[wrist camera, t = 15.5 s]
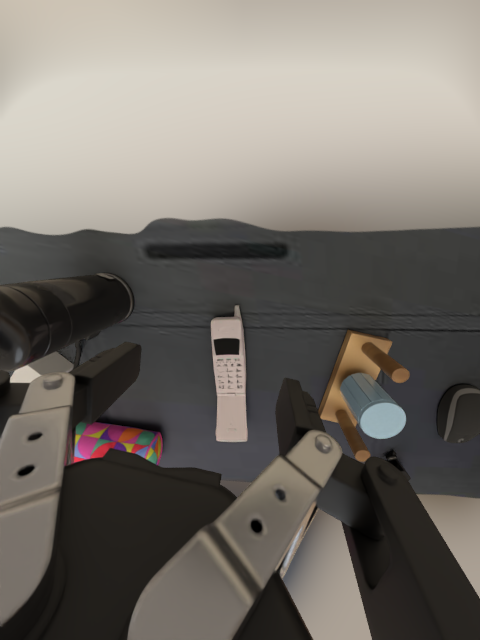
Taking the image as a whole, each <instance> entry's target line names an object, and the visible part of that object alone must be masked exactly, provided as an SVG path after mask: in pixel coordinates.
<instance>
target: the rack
mask: <svg viewBox="0 0 480 640" xmlns="http://www.w3.org/2000/svg"><path fill="white" fill-rule="evenodd" d="M391 344H392V341H390V340H389V339H387V338H383V337H379V336H374V335H370V334H365V333H360V332H356V331H351V330H348V331H347V334H346V336H345V339H344V342H343V345H342V347H341V350H340V353H339V355H338V358H337V361H336V364H335V366H334V369H333V372H332V375H331V377H330V380H329V383H328V385H327V388H326V391H325V394H324V396H323V399H322V402H321V405H320V407H319V410H318V414H319V415H320V418H321V419H324V420H329V421H333V422H338V423H339V424H340V427H341V429H342V431H343V433H344V435H345V437H346V439H347V441H348V443H349V445H350V448H351V450H352V452H353V454H354V456H355V458H356V459H357V460H358V461H362V462H363V461H366V460H367V459H368V458H369V457H370V453H369V451H368V449H367V447H366V446H365V444H364V442H363V440H362V438H361V437H360V435H359V433H358V431H357V430H356V428H355V426H356V424H357V421H356V419H355V418H354V416H353V414H352V413H351V411H350V409H349V408H348V406H347V404H346V402H345V401H344V399H343V397H342V395H341V391H340V387H341V384H342V382H343V380H344V379H346V378H347V377H348V376H349V375H351V374H356V373H364V374H369V375H370V376H371V377H373V378H374V379H375V380H376V378H377V376H378V374H379V372H380V369H381V370H382V371H384V372H385V373H386V374H387V375H388V376H389V377H390V378H391V379H392V380H393V381H395V382H397V383H402V382H405V381H406V380H407V379H408V378H409V371H408V370H407V369H406V368H404V367H403V366H402V365H400V364H399V363H398V362H396V361H395V360H394V359H392V358H391V357H390V356H389V355H387V353H388V351H389V349H390V346H391Z"/></svg>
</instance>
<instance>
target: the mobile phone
mask: <svg viewBox="0 0 480 640" xmlns="http://www.w3.org/2000/svg"><path fill="white" fill-rule="evenodd" d="M211 340H212V353H213V364H214V373H215V381H216V389H217V396H218V401H217V428H216V436H217V441H222V442H243V441H247V422H246V397H245V396H246V360H245V344H244V331H243V324H242V319H241V315H240V309H239V305H235V314H234V317H216V318H213V320H212V321H211Z"/></svg>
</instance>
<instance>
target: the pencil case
mask: <svg viewBox="0 0 480 640" xmlns="http://www.w3.org/2000/svg"><path fill="white" fill-rule="evenodd" d="M162 447H163V442H162V436H161V433H160V432H154V431H153V432H152V431H148V430H144V429H140V428H133V427H127V426H120V425H114V424H106V423H100V422H94V423H93V424H92V425H90V424H86V423H82V422H80V423H79V424H78V425H77V426H76V439H75V453H74V463H75V462H78V461H82V460H86V459H91V458H99V457H103V456H104V455H105V454H106V452H107V451H108V450H109V448H113V449H118V450H122V451H126V452H130V453H135V454H138V455H140V456H141V457H143V458H145V459H147V460H149V461H150V462H152V463H154V464H156V465H158V464H159V461H160V458H161V454H162Z"/></svg>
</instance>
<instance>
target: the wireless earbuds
mask: <svg viewBox="0 0 480 640" xmlns="http://www.w3.org/2000/svg"><path fill="white" fill-rule="evenodd" d="M395 454H396V453H395V451H392V452H391V453H390V454H387V455H386V459H387V460H388V461H387V462H389V463H391V464H392V465H394V466H395V467H396V468H397V469H398V470H400V471H401V472H402V474H403V475H404V476H405V477H406V479H407V480H408V481H409V480H410V476H409V475H408V473H407V472H406V470H405V469H404V468H403V466H402V465H401V464H400V463H399V461H398V460H397V456H396V455H395Z"/></svg>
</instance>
